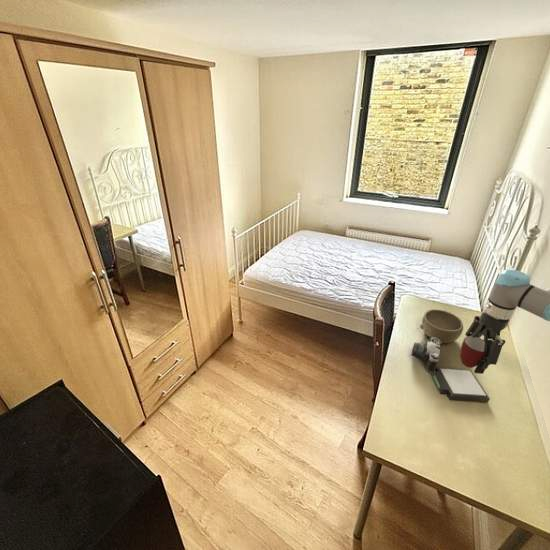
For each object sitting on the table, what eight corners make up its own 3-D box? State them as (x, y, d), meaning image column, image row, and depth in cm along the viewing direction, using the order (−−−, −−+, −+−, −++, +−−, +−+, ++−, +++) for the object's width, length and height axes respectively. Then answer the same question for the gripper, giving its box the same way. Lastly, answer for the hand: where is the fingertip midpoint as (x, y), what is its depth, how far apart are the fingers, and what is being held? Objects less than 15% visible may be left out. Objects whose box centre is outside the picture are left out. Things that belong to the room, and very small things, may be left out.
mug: (486, 362, 109) (497, 342, 104) (489, 377, 102) (501, 357, 97) (454, 352, 113) (463, 333, 107) (455, 367, 106) (465, 347, 101)
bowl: (413, 336, 142) (419, 320, 137) (424, 319, 154) (430, 304, 149) (452, 353, 132) (460, 336, 128) (461, 334, 144) (468, 318, 140)
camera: (412, 344, 137) (417, 327, 133) (436, 351, 133) (443, 334, 129) (409, 366, 125) (415, 349, 120) (435, 375, 121) (442, 357, 116)
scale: (487, 403, 110) (490, 397, 109) (442, 399, 111) (445, 394, 109) (468, 374, 122) (471, 368, 121) (428, 371, 123) (430, 366, 122)
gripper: (468, 296, 106) (449, 343, 117) (504, 334, 88) (476, 385, 99) (490, 297, 105) (468, 344, 116) (530, 335, 87) (499, 387, 98)
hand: (472, 363), depth 108 cm, fingers closed on mug, 8 cm apart
